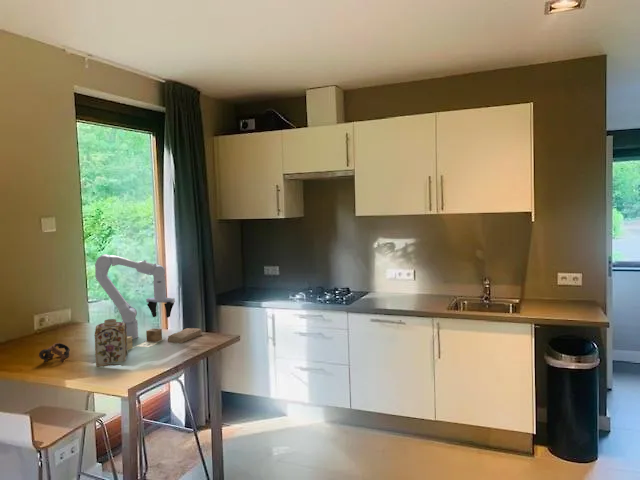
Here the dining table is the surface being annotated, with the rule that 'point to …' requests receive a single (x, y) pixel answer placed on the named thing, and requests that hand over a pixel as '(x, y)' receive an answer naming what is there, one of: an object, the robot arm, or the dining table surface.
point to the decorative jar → (110, 342)
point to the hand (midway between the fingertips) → (161, 316)
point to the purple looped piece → (55, 351)
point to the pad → (154, 342)
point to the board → (144, 345)
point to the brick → (184, 335)
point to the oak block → (129, 342)
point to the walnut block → (154, 335)
